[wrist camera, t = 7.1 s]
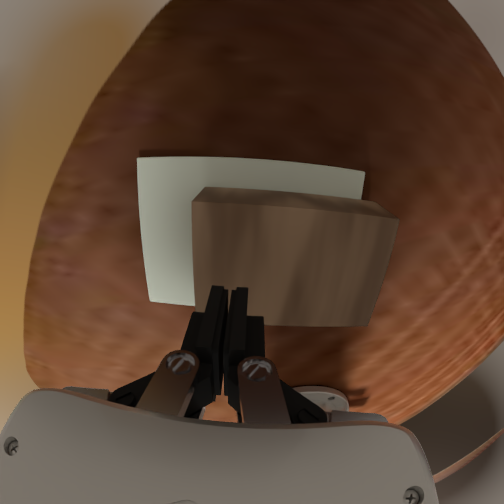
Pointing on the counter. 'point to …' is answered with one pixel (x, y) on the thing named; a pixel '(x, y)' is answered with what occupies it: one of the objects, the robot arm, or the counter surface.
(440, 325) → the counter surface
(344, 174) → the mat
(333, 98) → the counter surface
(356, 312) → the slab
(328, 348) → the counter surface
